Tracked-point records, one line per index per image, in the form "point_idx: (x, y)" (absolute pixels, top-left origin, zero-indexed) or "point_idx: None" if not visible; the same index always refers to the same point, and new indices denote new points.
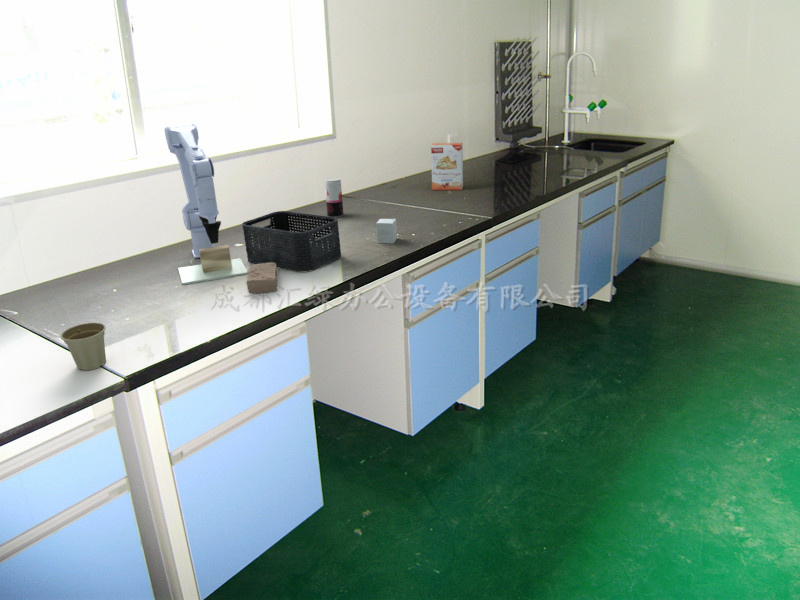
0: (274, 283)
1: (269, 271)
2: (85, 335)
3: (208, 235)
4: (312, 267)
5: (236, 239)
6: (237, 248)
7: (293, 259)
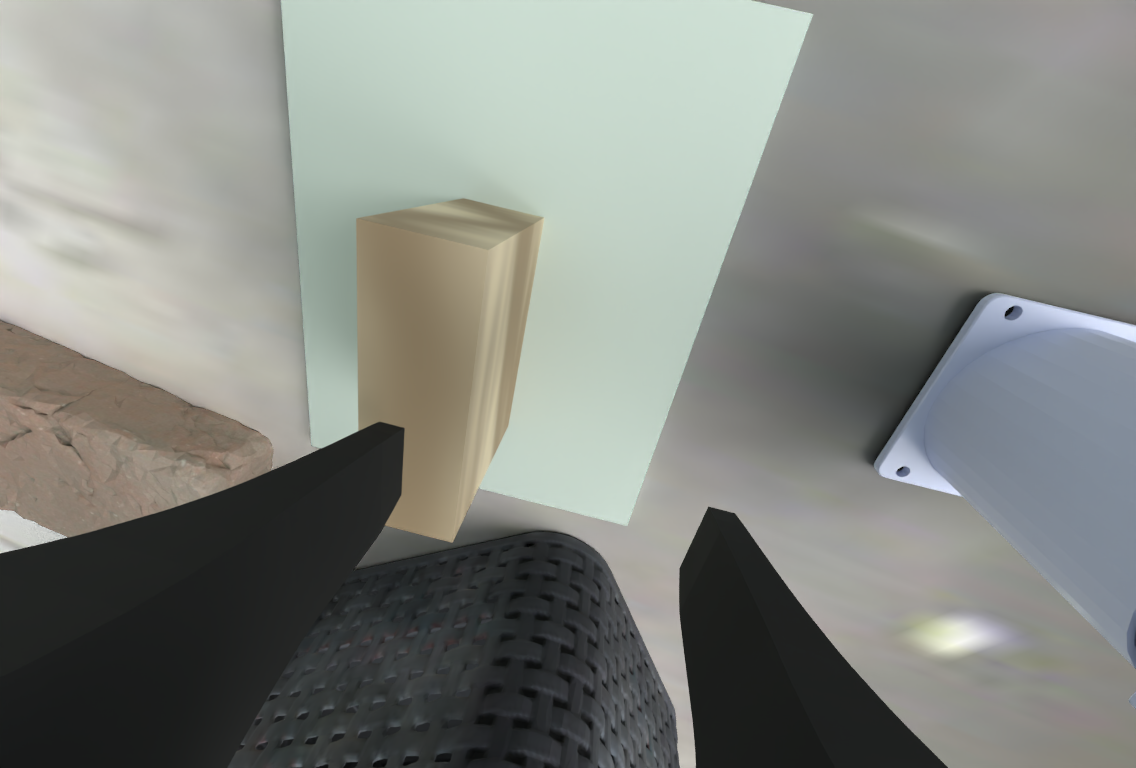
0: None
1: (30, 500)
2: None
3: (255, 478)
4: None
5: (1101, 678)
6: (888, 602)
7: None
